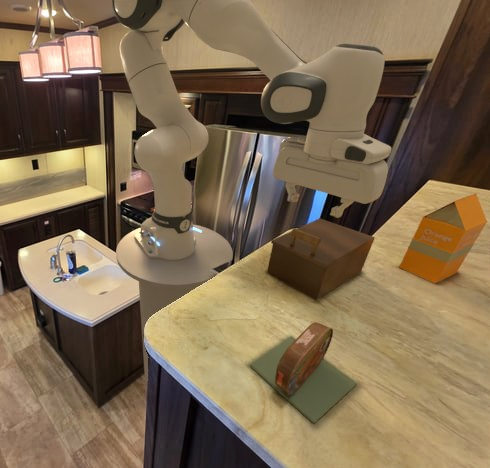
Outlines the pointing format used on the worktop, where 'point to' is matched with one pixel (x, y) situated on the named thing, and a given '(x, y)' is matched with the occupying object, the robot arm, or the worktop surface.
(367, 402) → the worktop surface
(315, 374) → the mat
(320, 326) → the tin
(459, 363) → the worktop surface
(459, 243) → the orange juice
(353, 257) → the brown open box
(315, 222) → the lid
